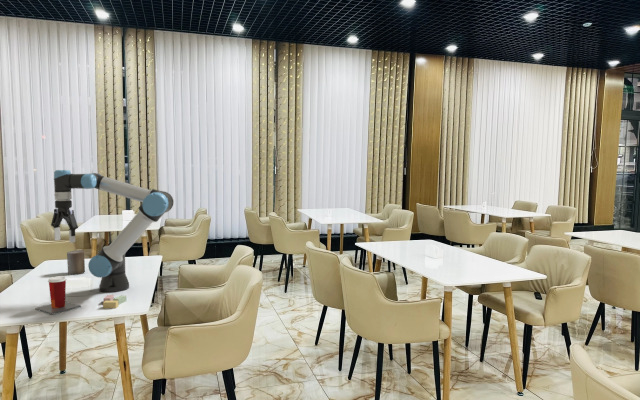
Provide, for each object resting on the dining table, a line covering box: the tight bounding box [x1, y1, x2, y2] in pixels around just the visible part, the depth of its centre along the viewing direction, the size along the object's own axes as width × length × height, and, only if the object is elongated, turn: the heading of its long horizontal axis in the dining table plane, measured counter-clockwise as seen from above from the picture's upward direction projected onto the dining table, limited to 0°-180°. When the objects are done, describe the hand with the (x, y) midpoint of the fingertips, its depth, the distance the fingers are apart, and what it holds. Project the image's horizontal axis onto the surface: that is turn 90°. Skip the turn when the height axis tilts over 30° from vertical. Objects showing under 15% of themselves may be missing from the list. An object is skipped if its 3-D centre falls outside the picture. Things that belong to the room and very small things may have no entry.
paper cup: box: [47, 275, 67, 308], centre depth 223 cm, size 8×8×14 cm
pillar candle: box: [66, 249, 86, 275], centre depth 295 cm, size 10×10×15 cm
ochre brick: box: [102, 300, 119, 309], centre depth 226 cm, size 6×3×3 cm, turn 92°
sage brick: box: [113, 294, 127, 306], centre depth 233 cm, size 6×3×3 cm, turn 166°
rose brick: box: [103, 294, 115, 302], centre depth 234 cm, size 6×3×3 cm, turn 8°
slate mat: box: [34, 300, 82, 316], centre depth 224 cm, size 14×14×1 cm
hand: (64, 241), depth 242 cm, fingers open, 13 cm apart
